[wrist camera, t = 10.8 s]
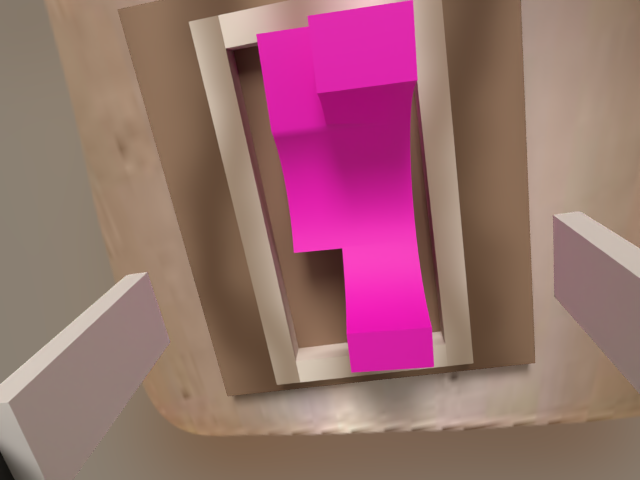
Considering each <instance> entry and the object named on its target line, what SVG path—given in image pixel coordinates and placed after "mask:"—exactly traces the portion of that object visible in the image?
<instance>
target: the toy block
mask: <svg viewBox="0 0 640 480" xmlns="http://www.w3.org/2000/svg"><path fill="white" fill-rule="evenodd" d="M307 17H308V25H309V26H307V27H301V28H294V29H287V30H280V31H274V32H267V33H260V34H256V36H257V43H258V49H259V55H260V62H261V68H262V75H263V81H264V87H265V94H266V100H267V107H268V113H269V119H270V126H271V132H272V135H273V137H274V140H275V144H276V147H277V151H278V154H279V158H280V162H281V166H282V171H283V175H284V180H285V186H286V191H287V197H288V204H289V210H290V218H291V227H292V236H293V248H294V253H298V252H309V251H319V250H330V249H340V248H342V252H343V264H344V278H345V296H346V326H347V342H348V350H349V358H350V366H351V373H354V372H369V371H384V370H399V369H414V368H429V367H434V354H433V337H432V326H431V322H430V318H429V313H428V309H427V304H426V299H425V294H424V288H423V282H422V276H421V269H420V262H419V255H418V247H417V238H416V229H415V219H414V208H413V196H412V180H411V155H410V122H411V105H412V97H413V91H414V87H415V84H416V82H417V81H418V76H417V59H416V41H415V24H414V7H413V0H409V1H402V2H396V3H389V4H382V5H376V6H369V7H362V8H356V9H349V10H343V11H336V12H329V13H323V14H316V15H309V16H307Z"/></svg>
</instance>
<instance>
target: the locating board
mask: <svg viewBox="0 0 640 480" xmlns="http://www.w3.org/2000/svg"><path fill="white" fill-rule="evenodd" d="M402 1H409V0H159V1H154V2H150V3H145V4H141V5H136V6H132V7H127V8H123V9H118V13H119V16H120V20H121V23H122V27H123V31H124V34H125V38H126V41H127V45H128V48H129V52H130V55H131V59H132V62H133V66H134V69H135V73H136V76H137V80H138V83H139V87H140V90H141V94H142V97H143V101H144V104H145V108H146V111H147V115H148V118H149V122H150V125H151V129H152V132H153V136H154V140H155V143H156V147H157V150H158V154H159V157H160V161H161V164H162V168H163V171H164V175H165V178H166V182H167V185H168V189H169V192H170V196H171V199H172V203H173V206H174V210H175V213H176V217H177V220H178V224H179V227H180V231H181V234H182V238H183V241H184V245H185V248H186V252H187V256H188V259H189V263H190V266H191V270H192V273H193V277H194V280H195V284H196V287H197V291H198V294H199V298H200V301H201V305H202V308H203V312H204V315H205V319H206V322H207V326H208V329H209V333H210V336H211V340H212V343H213V347H214V350H215V354H216V357H217V361H218V365H219V368H220V372H221V375H222V379H223V382H224V386H225V389H226V393H227V396H234V395H243V394H253V393H262V392H271V391H280V390H290V389H299V388H308V387H317V386H327V385H336V384H345V383H354V382H364V381H373V380H382V379H391V378H401V377H410V376H419V375H428V374H438V373H447V372H456V371H465V370H475V369H484V368H493V367H502V366H512V365H521V364H530V363H535V346H534V321H533V296H532V271H531V246H530V221H529V196H528V171H527V146H526V121H525V96H524V71H523V46H522V21H521V0H413V7H414V24H415V41H416V59H417V76H418V81H417V82H416V84H415V87H414V91H413V97H412V105H411V122H410V155H411V180H412V196H413V208H414V219H415V229H416V238H417V247H418V255H419V262H420V269H421V276H422V282H423V288H424V294H425V299H426V304H427V309H428V313H429V318H430V322H431V326H432V337H433V354H434V367H429V368H414V369H399V370H384V371H369V372H354V373H351V366H350V358H349V350H348V342H347V326H346V296H345V278H344V264H343V252H342V248H340V249H330V250H319V251H309V252H298V253H294V248H293V236H292V227H291V218H290V210H289V204H288V197H287V191H286V186H285V180H284V175H283V171H282V166H281V162H280V158H279V154H278V151H277V147H276V144H275V140H274V137H273V135H272V132H271V126H270V119H269V113H268V107H267V100H266V94H265V87H264V81H263V75H262V68H261V62H260V55H259V49H258V43H257V36H256V34H260V33H267V32H274V31H280V30H287V29H294V28H301V27H307V26H309V25H308V17H307V16H309V15H316V14H323V13H329V12H336V11H343V10H349V9H356V8H362V7H369V6H376V5H382V4H389V3H396V2H402Z"/></svg>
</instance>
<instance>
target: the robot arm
mask: <svg viewBox="0 0 640 480" xmlns="http://www.w3.org/2000/svg"><path fill="white" fill-rule="evenodd" d="M553 242H554V297H555V298H556V299H557V300H558V301H559V302H560V303H561V305H562V306H563V307H564V308H565V309H566V310H567V311H568V313H569V314H570V315H571V316H572V317H573V318H574V319H575V321H576V322H577V323H578V324H579V325H580V326H581V327H582V329H583V330H584V331H585V332H586V333H587V334H588V335H589V337H590V338H591V339H592V340H593V341H594V342H595V343H596V345H597V346H598V347H599V348H600V349H601V350H602V351H603V353H604V354H605V355H606V356H607V357H608V358H609V359H610V361H611V362H612V363H613V364H614V365H615V366H616V367H617V369H618V370H619V371H620V372H621V373H622V374H623V375H624V377H625V378H626V379H627V380H628V381H629V382H630V383H631V385H632V386H633V387H634V388H635V389H636V390H637V391H638V393H639V394H640V248H638V247H637V246H635V245H633V244H632V243H630V242H629V241H627V240H625V239H624V238H622V237H621V236H619V235H617V234H616V233H614V232H613V231H611V230H609V229H608V228H606V227H605V226H603V225H601V224H600V223H598V222H597V221H595V220H593V219H592V218H590V217H589V216H587V215H585V214H584V213H582V212H581V211H577V212H570V213H563V214H556V215H553ZM169 343H170V340H169V337H168V334H167V331H166V328H165V325H164V322H163V319H162V315H161V312H160V309H159V306H158V303H157V300H156V297H155V294H154V291H153V288H152V285H151V282H150V279H149V276H148V272H145V273H138V274H131V275H126V276H125V277H124V278H123V279H121V280H120V281H119V282H118V283H117V284H116V285H114V286H113V287H112V288H111V289H110V290H109V291H108V292H107V293H105V294H104V295H103V296H102V297H101V298H99V299H98V300H97V301H96V302H95V303H94V304H92V306H90V307H89V308H88V309H87V310H86V311H84V312H83V313H82V314H81V315H80V316H79V317H78V318H76V319H75V320H74V321H73V322H72V323H71V324H69V325H68V326H67V327H66V328H65V329H64V330H62V331H61V332H60V333H59V334H58V335H57V336H56V337H54V338H53V339H52V340H51V341H50V342H49V343H48V344H46V345H45V346H44V347H43V348H42V349H40V350H39V351H38V352H37V353H36V354H35V355H34V356H32V357H31V358H30V359H29V360H28V361H27V362H25V364H23V365H22V366H21V367H20V368H18V369H17V370H16V371H15V372H14V373H13V374H12V375H10V376H9V377H8V378H7V379H6V380H5V381H3V382H2V383H1V384H0V480H73V479H74V478H75V476H76V475H77V474H78V472H79V471H80V469H81V468H82V466H83V465H84V464H85V462H86V461H87V459H88V458H89V457H90V455H91V454H92V452H93V451H94V449H95V448H96V447H97V445H98V444H99V442H100V441H101V439H102V438H103V437H104V435H105V434H106V432H107V431H108V430H109V428H110V427H111V425H112V424H113V422H114V421H115V419H116V418H117V417H118V415H119V414H120V412H121V411H122V410H123V408H124V407H125V405H126V404H127V403H128V401H129V400H130V398H131V397H132V396H133V394H134V393H135V391H136V390H137V388H138V387H139V386H140V384H141V383H142V381H143V380H144V379H145V377H146V376H147V374H148V373H149V371H150V370H151V369H152V367H153V366H154V364H155V363H156V361H157V360H158V359H159V357H160V356H161V354H162V353H163V352H164V350H165V349H166V347H167V346H168V344H169Z"/></svg>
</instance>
